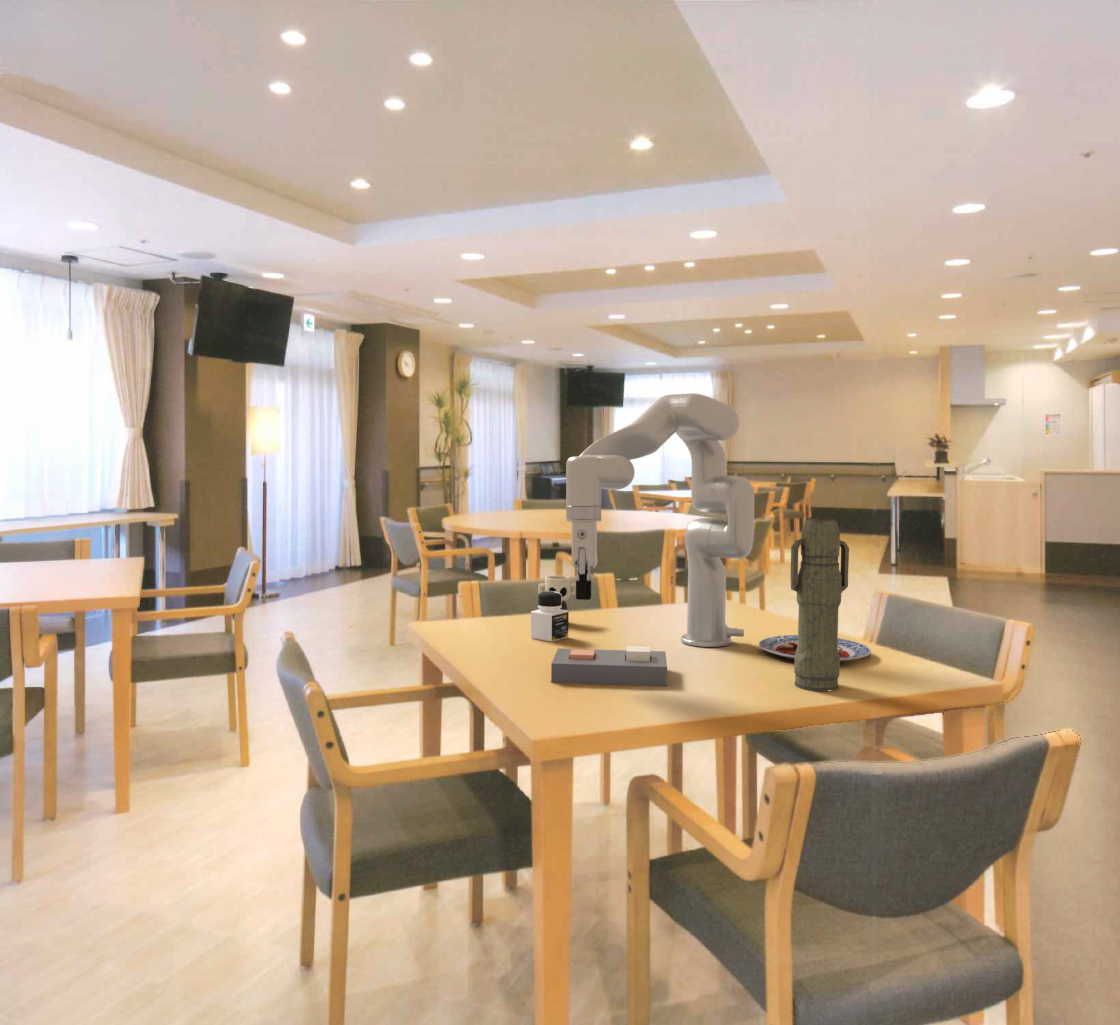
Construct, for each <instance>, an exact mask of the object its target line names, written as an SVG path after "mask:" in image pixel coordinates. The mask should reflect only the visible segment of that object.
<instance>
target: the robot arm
mask: <svg viewBox="0 0 1120 1025" xmlns="http://www.w3.org/2000/svg"><path fill="white" fill-rule="evenodd" d="M739 426H740V420H739V415H738V413H737V412H736V410H735V409H734V408H733V406H731V405H729V404H727V403H725V402H723V401H721V400H720V401H719V400H718V399H715V398H712V397H709V396H706V395H705V394H700V393H677V394H675V393H674V394H666V395H663V396H661V397H659V398H657V400H655V401H654V402H653V403H652V404H651V405H650V406H649V407H648V408H647V409H645V410H644V411H643V412H642V413H641V414H640V415H639V416H638V417H637V418H636V419H635V420H633V421H632V422H631V423H629V424H628V425H626V426H624V427H621V428H619V429H617V430H615V431H613V432H610V433H609V434H606V435H604V436H602V437H601V438H599V439H597V440H596V441H594V442H593V443H592V444H590V445H589V446H588V447H587V448H586V449H585V450H583V451H582V453H580V455H579V456H577V455H575V456H571V457H569V458H568V459H567V460H566V463H565V467H566V469H565V476H566V477H565V478H566V479H565V481H566V484H565V485H566V487H565V489H566V490H565V492H566V493H565V494H566V495H565V497H566V498H565V499H566V500H565V501H566V502H565V504H566V506H565V521H566V522H571V557H572V567H573V568H574V569H576V580H575V584H576V595H575V599H576V600H585V601H588V600H591V599H592V580H591V569H595V568H596V567H597V565H598V526H597V523H598V522H602V489H603V490H614V491H615V490H622V489H625V488H627V487H629V485H630V484H632V481H633V480H634V477H635V467H634V465H633V463H632V461H631V460H637V459H640V458H644V457H647V456H650V455H652V454H654V453H656V452H657V451H658V450H659V449H660V448H661V447H662V446H663V445H664V444H665V443H666V442H667V441H668V440H669V439H670V438H671V437H672V436H673V435H674V434H676V435H677V437H679V439H681V441H682V443H684V444H685V446H686V447H687V449H688V452H689V455H690V458H691V488H690V489H691V495H690V496H691V503H692V506H693V508H694V509H695V510H696V511H697V512H700V513H708V514H719V515H721V514H722V515H727V517H726V518H727V519H725V518H724V519H723V518H710V517H700V518H696V519H693V520H691V522H689V523H688V525H687V526H686V528H685V530H684V544H685V550H686V555H687V613H686V614H687V617H686V618H687V619H686V620H687V623H686V626H687V627H686V630H687V631H686V633H685V634H682V635H681V636H680V641H681V642H682V644H685V645H689V646H693V647H702V648H715V647H717V648H718V647H725V646H729V645H730V644H731V643H732V637H740V638H743V637H745V636H744V633H745V631H744V630H745V629H744V628H743V629H742V628H738V627H732V628H731V627H728V625H727V624H726V600H727V599H726V594H727V589H726V587H727V572H726V568H725V566H724V564H723V561H722V559H721V558H723V559H734V560H735V559H736V560H741V559H744V558H747V557H748V556H749V555H750V554H751V552H752V549H753V544H754V540H755V538H754V537H755V504H756V503H755V502H756V501H755V492H754V488H753V486H752V484H751V482H750V481H749V480H748V479H747V478H745V477H744V476H738V475H727V463H726V462H727V459H726V458H727V456H726V453H725V450H724V447H723V446H722V443H721V441H723V442H724V441H728V440H730V439H733V437H734V436H735V435H736V434H737V433H738V430H739V428H740V427H739ZM591 567H592V568H591Z"/></svg>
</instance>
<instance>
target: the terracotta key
mask: <svg viewBox="0 0 1120 1025" xmlns="http://www.w3.org/2000/svg"><path fill="white" fill-rule="evenodd" d="M571 649H572V650H571V653H570V659H580V660H595V650H578V649H579V648H571Z"/></svg>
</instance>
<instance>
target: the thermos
mask: <svg viewBox="0 0 1120 1025" xmlns="http://www.w3.org/2000/svg"><path fill="white" fill-rule="evenodd" d="M833 518H834V517H827V516H810V517H808V518H806V519H805V520H804V523H803V526H802V528H801V534H800V536H801V538H800V539H799V538H798V540H795V541H794V543H793V544H792V545H791V547H790V590H791V591H794V592H796V602H797V605H798V621H797V622H798V623H797V624H798V625H797V635H798V647H797V649H796V652H795V660H794V667H793V668H794V670H793V671H794V675H795V677H794V685H795V687H796V688H798V689H801V688H802V689H801V690H805V691H810V690H813V691H812V692H821V691H826V692H829V691H828V690H834V691H836V690H838V689H839V677H840V664H841V662H840V655H839V652H838V649H837V641H838V638H839V637H838V636H839V635H838V634H839V633H838V632H839V608H840V606H841V603H842V593H843V592H844V591H845V590H847V588H848V587H849V564H850V563H849V562H850V561H849V559H850V558H849V557H850V547H849V546H848V544H847V543H846V542H845V541H842V540H841V532H840V528H839V524H838V522H837V519H833ZM799 548H800V555H801V561H800V567H799ZM839 557H840V563H839ZM837 688H838V689H837ZM835 689H836V690H835Z"/></svg>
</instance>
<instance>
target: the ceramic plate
mask: <svg viewBox="0 0 1120 1025" xmlns="http://www.w3.org/2000/svg"><path fill="white" fill-rule="evenodd" d="M758 643H759V644H758V645H759V647H760V648H761V649H762V650H764V651H766V652H768V653H771V654H774V655H779V656H780V657H783V658H786V659H788V660H792V661H795V652H796V649H797V647H798V634H797V635H796V634H791V635H790V634H789V635H788V634H787V635H777V636H771V637H770V636H769V637H766V638H764V639H762V640H760V641H759V642H758ZM837 649H838V652H839V655H840V663H843V662H842V661H844V662H846V661H850V660H851V661H852V660H858V659H862V658H867V657H868V656H870V655H871V652H872V650H871V649H870V648H869V647H868V646H867V645H866V644H863V643H860V642H857V641H853V640H849V639H844V638H839V637H838V641H837Z"/></svg>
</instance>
